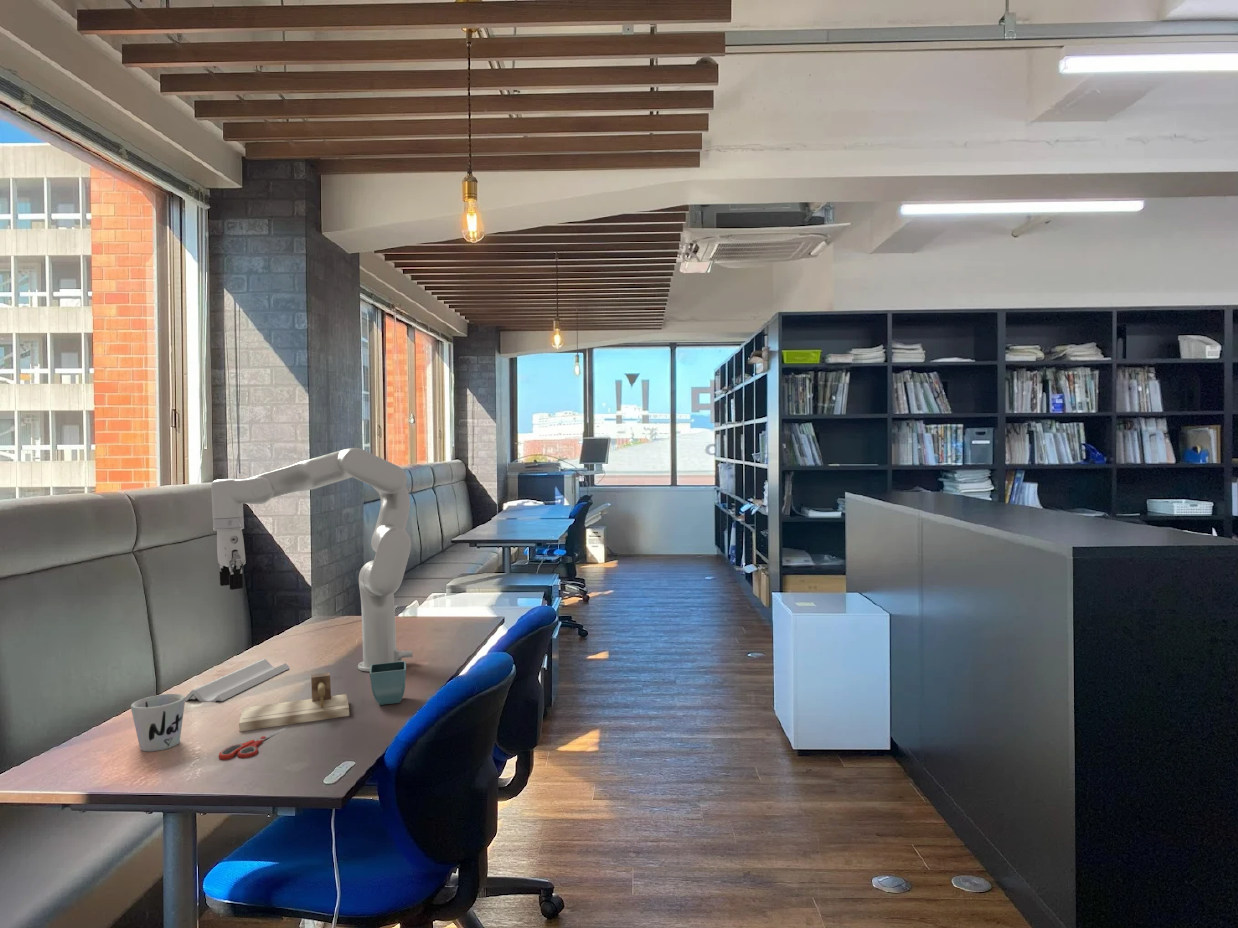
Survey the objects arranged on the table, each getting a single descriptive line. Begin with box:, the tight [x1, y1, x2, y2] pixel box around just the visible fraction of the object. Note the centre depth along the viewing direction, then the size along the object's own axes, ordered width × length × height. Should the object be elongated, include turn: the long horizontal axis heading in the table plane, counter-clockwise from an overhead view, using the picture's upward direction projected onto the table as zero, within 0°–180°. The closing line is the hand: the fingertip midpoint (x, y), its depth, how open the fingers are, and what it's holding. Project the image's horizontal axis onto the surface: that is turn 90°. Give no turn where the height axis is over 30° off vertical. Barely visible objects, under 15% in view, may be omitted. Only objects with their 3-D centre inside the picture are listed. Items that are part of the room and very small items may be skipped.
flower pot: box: [369, 660, 407, 706], centre depth 202 cm, size 9×9×9 cm
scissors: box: [218, 726, 289, 761], centre depth 176 cm, size 8×21×2 cm, turn 178°
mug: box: [130, 693, 186, 753], centre depth 176 cm, size 10×15×10 cm
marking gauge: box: [310, 671, 332, 707], centre depth 196 cm, size 4×13×8 cm, turn 22°
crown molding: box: [185, 658, 290, 703], centre depth 222 cm, size 31×12×4 cm, turn 171°
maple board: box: [238, 693, 350, 732], centre depth 193 cm, size 24×12×2 cm, turn 112°
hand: (231, 586), depth 216 cm, fingers open, 9 cm apart
